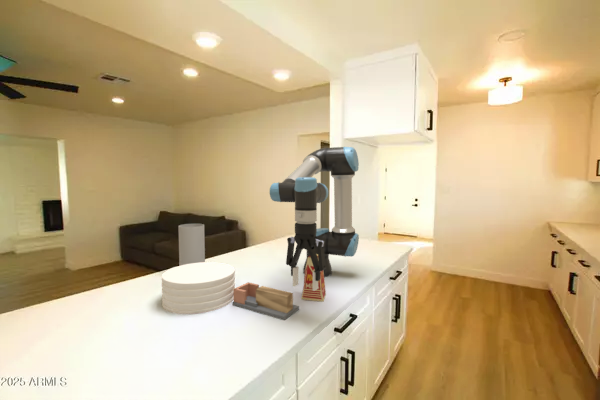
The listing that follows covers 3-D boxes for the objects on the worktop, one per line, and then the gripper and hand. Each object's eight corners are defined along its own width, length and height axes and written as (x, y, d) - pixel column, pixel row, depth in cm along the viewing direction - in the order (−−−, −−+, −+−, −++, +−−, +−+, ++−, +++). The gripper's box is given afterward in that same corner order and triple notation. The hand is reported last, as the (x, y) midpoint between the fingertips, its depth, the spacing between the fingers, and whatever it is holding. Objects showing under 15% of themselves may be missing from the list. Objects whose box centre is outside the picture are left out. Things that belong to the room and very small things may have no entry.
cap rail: (249, 296, 122) (249, 281, 121) (298, 309, 110) (299, 293, 109) (232, 305, 113) (232, 289, 113) (284, 320, 101) (284, 302, 101)
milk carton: (323, 301, 117) (324, 252, 115) (300, 299, 119) (301, 251, 117) (326, 293, 126) (326, 247, 124) (305, 291, 127) (305, 246, 126)
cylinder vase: (210, 271, 154) (209, 224, 153) (189, 278, 144) (188, 228, 142) (194, 267, 161) (193, 223, 160) (174, 273, 151) (173, 225, 149)
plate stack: (248, 292, 126) (248, 266, 125) (201, 320, 101) (200, 288, 100) (199, 283, 138) (198, 259, 137) (145, 305, 112) (145, 276, 112)
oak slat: (262, 300, 114) (262, 285, 114) (292, 308, 107) (292, 292, 107) (255, 304, 111) (255, 289, 110) (286, 313, 104) (286, 296, 103)
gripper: (275, 221, 102) (275, 285, 104) (327, 225, 92) (326, 296, 93) (287, 219, 109) (286, 279, 110) (337, 223, 98) (336, 289, 100)
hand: (305, 287), depth 102 cm, fingers open, 7 cm apart
